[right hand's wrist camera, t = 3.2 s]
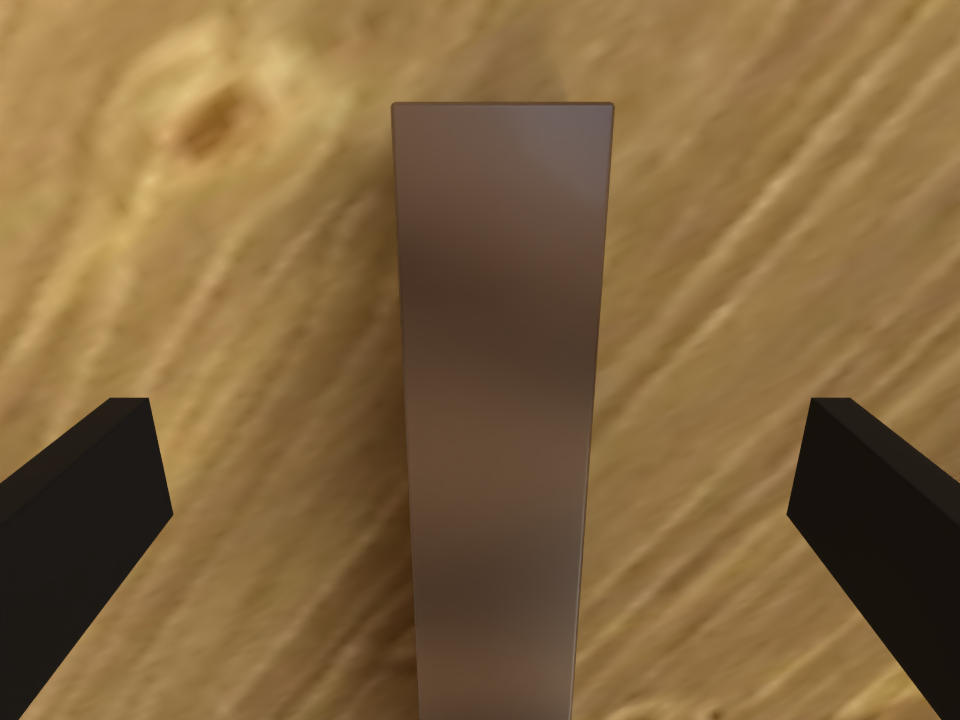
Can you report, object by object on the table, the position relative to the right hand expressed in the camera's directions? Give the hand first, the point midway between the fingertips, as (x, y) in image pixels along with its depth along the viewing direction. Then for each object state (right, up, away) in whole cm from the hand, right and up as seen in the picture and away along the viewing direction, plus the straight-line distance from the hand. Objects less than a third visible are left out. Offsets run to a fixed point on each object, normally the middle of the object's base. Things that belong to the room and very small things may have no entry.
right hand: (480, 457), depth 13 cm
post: (+1, -15, +17) cm, 23 cm away
